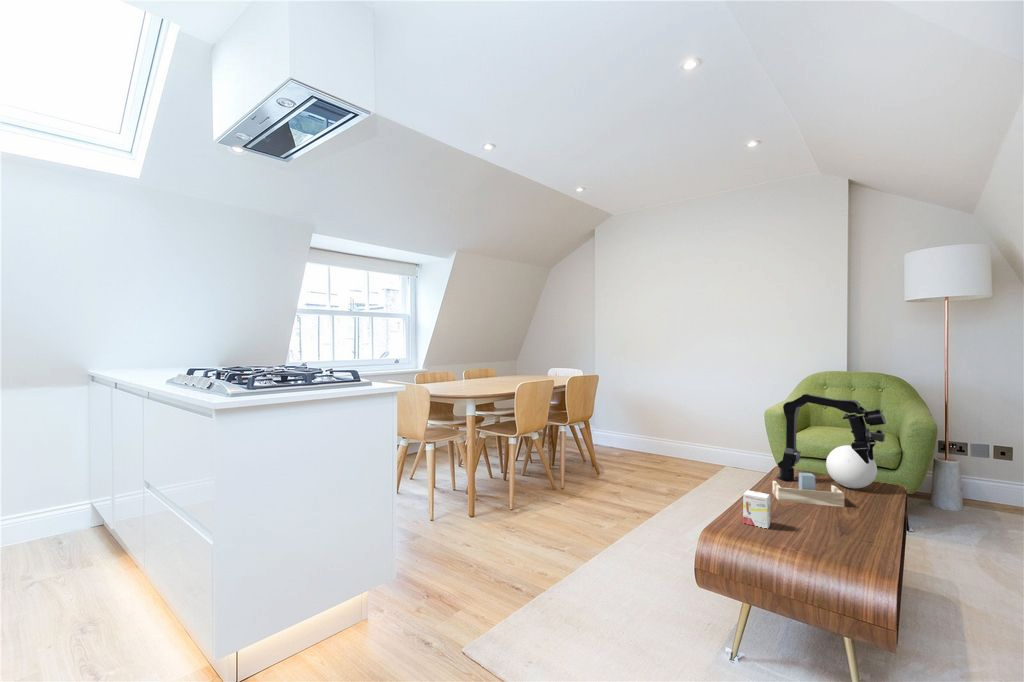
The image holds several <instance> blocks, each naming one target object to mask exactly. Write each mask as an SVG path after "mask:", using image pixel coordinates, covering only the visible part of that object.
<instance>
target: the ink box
mask: <svg viewBox="0 0 1024 682" xmlns="http://www.w3.org/2000/svg"><path fill="white" fill-rule="evenodd" d="M742 494H743V495H742V496H743V497H742V498H743V499H742V501H743V504H742V505H743V506H742V509H743V511H742V514H743V518H742V521H743V523H746V524H745V525H747V524H750V525H749V526H751V525H754V526H753V527H756V526H758V527H757V528H760V527H762V528H761V529H764V528H767V529H766V530H768V529H769V528H770V526H771V494H769V493H765V492H764V493H763V492H760V491H753V490H749V489H748V490H745V491H744V492H743V493H742Z"/></svg>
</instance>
